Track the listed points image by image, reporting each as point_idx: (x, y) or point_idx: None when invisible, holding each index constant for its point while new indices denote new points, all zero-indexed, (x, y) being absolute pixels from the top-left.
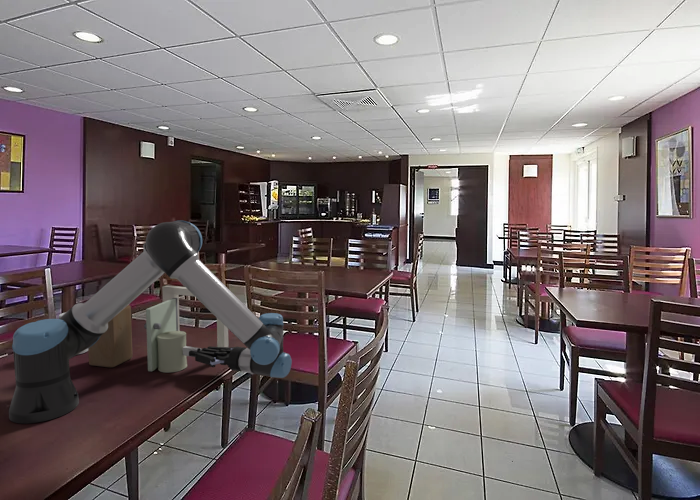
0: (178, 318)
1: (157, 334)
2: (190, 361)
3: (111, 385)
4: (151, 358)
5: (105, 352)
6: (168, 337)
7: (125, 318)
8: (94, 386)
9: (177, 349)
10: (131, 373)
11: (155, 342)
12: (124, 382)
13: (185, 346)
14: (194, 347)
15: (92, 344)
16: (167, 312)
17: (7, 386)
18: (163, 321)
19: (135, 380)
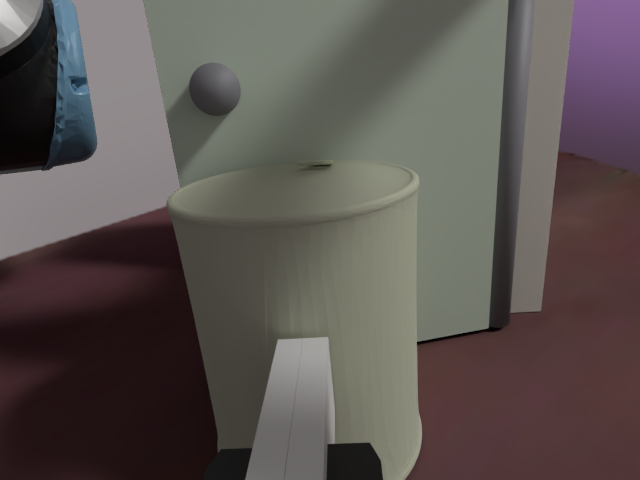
0: (555, 103)
1: (259, 162)
2: (480, 452)
3: (46, 354)
4: None
5: None
6: (219, 195)
7: None
8: (51, 323)
9: (233, 337)
10: (194, 332)
11: None
12: (75, 370)
13: (315, 342)
14: (318, 435)
15: (49, 149)
16: (390, 10)
17: (100, 228)
18: (335, 76)
19: (95, 391)
